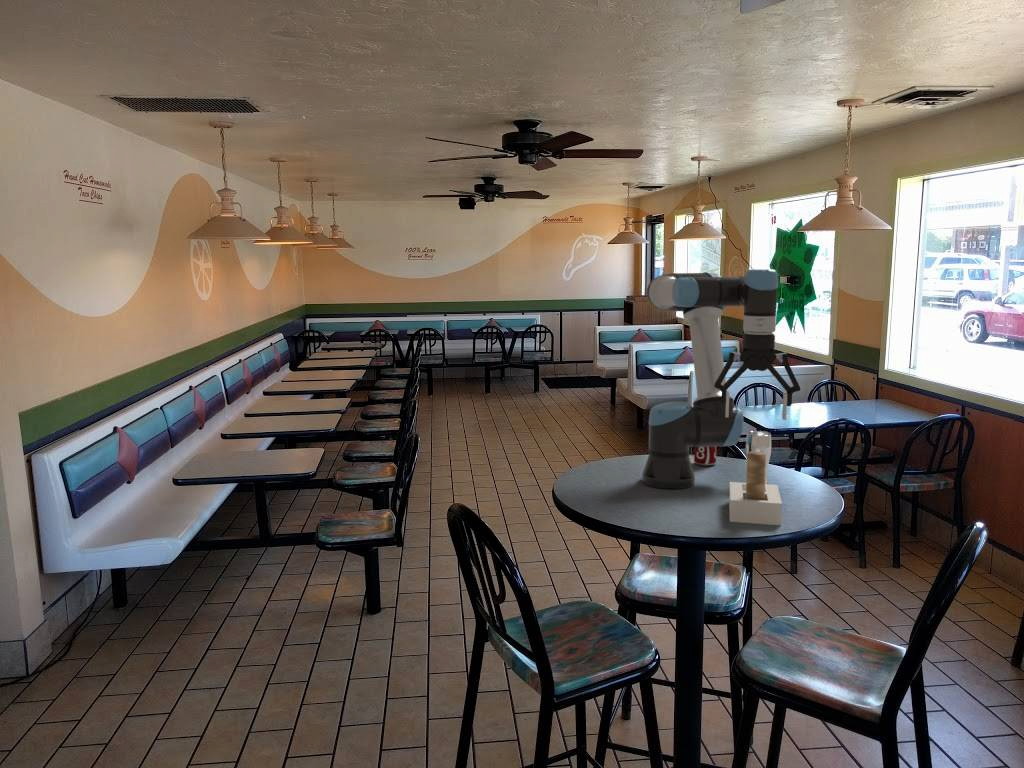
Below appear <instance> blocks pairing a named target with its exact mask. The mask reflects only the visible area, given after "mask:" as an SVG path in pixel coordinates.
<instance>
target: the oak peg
mask: <svg viewBox="0 0 1024 768" xmlns="http://www.w3.org/2000/svg"><path fill="white" fill-rule="evenodd" d="M765 467H766V453H763V452H757V451H752V452H748V453H747V458H746V479H745V480H746V482H745V483H746V499H748V500H764V496H765Z"/></svg>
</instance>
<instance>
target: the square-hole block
mask: <svg viewBox="0 0 1024 768" xmlns="http://www.w3.org/2000/svg"><path fill="white" fill-rule="evenodd" d="M728 496H729V497H728V509H729V511H728V512H729V522H730V523H743V524H757V525H767V526H768V525H771V526H782V515H783V514H782V513H783V502H782V498H781V494H780V490H779V487H778V484H769V483H768V484H765V496H764V500H748V499H746V482H738V481H736V482H735V481H729V493H728Z"/></svg>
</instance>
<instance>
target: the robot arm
mask: <svg viewBox="0 0 1024 768" xmlns="http://www.w3.org/2000/svg"><path fill="white" fill-rule="evenodd" d="M778 277H779V276H778V272H777V270H775V269H770V268H769V269H766V268H764V269H762V268H761V269H759V268H758V269H757V268H756V269H755V268H754V269H748V270H747V271H746V272H745V275H739V276H738V275H737V276H721V275H720V274H719V273H715V272H713V273H712V272H705V271H704V272H692V273H691V272H686V273H685V272H682V273H681V272H679V273H676V272H671V273H665V274H664V273H663V274H661V275H658V276H656V277H654V278H653V279H652V280H651V281H650V282H648V283H649V284H648V285H647V288H646V298H647V301H648V302H649V303H650V305H651V306H653V307H654V308H656V309H658V310H662V311H667V312H682V315H683V320H685V321H686V322H688V323H689V330H690V331H689V332H690V340H691V341H690V342H691V351H692V359H693V367H694V377H695V387H696V396H697V397H696V398H695V399H694V400H693V402H692V405H691V403H690V402H689V401H682V400H681V401H676V400H675V401H668V402H663V403H658V404H656V405H654V406H652V407H651V408H650V410H649V415H648V417H649V418H648V457H647V458H646V459H647V460H646V462H645V465H644V468H643V471H642V472H641V473H642V475H641V476H642V478H641V482H642V481H643V482H644V483H646V484H648V485H647V486H649V485H651V486H650V487H652V486H654V487H653V488H657V487H660V488H659V489H664V488H674V489H673V490H675V489H676V490H677V489H680V488H681V489H687V488H690V487H692V486H694V485H695V484H696V478H695V477H696V476H695V473H694V472H695V471H694V468H693V466H692V462H691V459H690V448H695V447H710V446H716V447H720V448H723V447H729V446H730V447H731V446H734V445H736V444H737V443H738V442H739V441H740V438H741V436H742V432H743V429H744V412H743V409H742V407H741V406H739V405H735V403H734V402H735V401H734V398H733V397H732V396H731V395H730V389H729V388H730V387H731V386H733V384H734V383H735V382H736V381H737V380H739V378H740V377H741V376H742V374H744V373H745V371H747V369H748V370H749V371H753V372H755V371H760V372H765V371H767V370H768V371H769V372H770V374H771V375H772V376H773V377H774V378H775V379H776V380H777V382H778V383H779V384H780V385H781V386H782V387H783V389H784V392H783V393H782V394H783V395H782V397H783V398H782V413H781V418H782V419H781V420H783V421H786V420H787V412H788V411H787V407H791V406H792V405H793V404H792V403H793V394H794V393H797V392H800V391H801V387H800V384H799V383H798V380H797V378H796V376H795V373H794V372H793V369H792V368H791V366H790V364H789V356H788V354H787V352H782V353H775V344H776V335H775V334H774V333H775V331H776V325H777V324H776V321H777V305H778V304H777V302H778V301H777V299H778V288H779V281H778ZM727 307H744V308H743V325H742V326H743V327H742V328H743V329H742V330H743V332H744V333H743V334H742V347H741V348H742V349H741V352H734V351H732V350H731V351H729V354H728V360H727V361H726V362H725V365H724V356H723V350H722V349H723V347H722V340H721V331H720V323H719V318H721V316H722V315H723V311H724V310H725V309H726V308H727ZM739 358H740V360H741V362H743V364H741V365H740V366H739V368H738V369H737V370H736V371H735V372H734V373H733V374H732V375H731V376H730V377H729V378H728V379H727V380H726V376H727V374H728V373H729V370H730V369H731V367H732V365H733V364H734V362H736V361H737V360H738V359H739ZM776 360H778V361H779V362H780V363H782V365H783V367H784V369H785V371H786V373H787V376H788V378H789V380H790V382H791V384H792V386H790V385H789V384H788V382H787V381H786V380H785V379H784V378H783V377H782V375H781V374H780V372H779V371H778V370H776V368H775V366H774V365H772V364H773V363H774V362H775V361H776ZM643 482H642V483H643ZM644 483H643V484H644ZM646 484H645V485H646ZM681 489H680V490H681Z"/></svg>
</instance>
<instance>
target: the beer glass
mask: <svg viewBox="0 0 1024 768" xmlns="http://www.w3.org/2000/svg"><path fill="white" fill-rule="evenodd" d="M752 451H757V452H763V453H766V467H765V484H769V481H768V467H769V464H770V459H771V454H772V434H771V432H768V431H763V430H762V431H760V430H751V431H748V432H746V440H745V457H746V459H747V453H748V452H752Z"/></svg>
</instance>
